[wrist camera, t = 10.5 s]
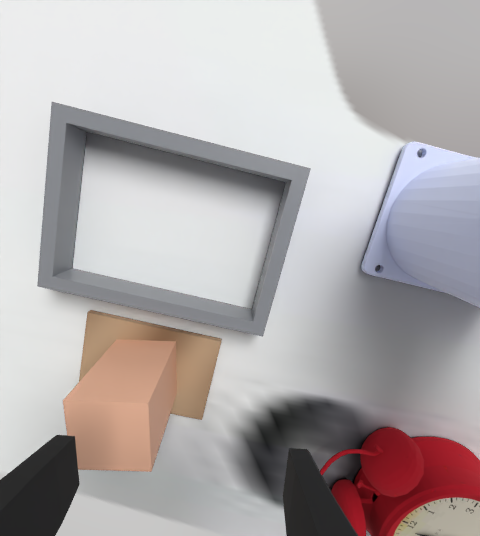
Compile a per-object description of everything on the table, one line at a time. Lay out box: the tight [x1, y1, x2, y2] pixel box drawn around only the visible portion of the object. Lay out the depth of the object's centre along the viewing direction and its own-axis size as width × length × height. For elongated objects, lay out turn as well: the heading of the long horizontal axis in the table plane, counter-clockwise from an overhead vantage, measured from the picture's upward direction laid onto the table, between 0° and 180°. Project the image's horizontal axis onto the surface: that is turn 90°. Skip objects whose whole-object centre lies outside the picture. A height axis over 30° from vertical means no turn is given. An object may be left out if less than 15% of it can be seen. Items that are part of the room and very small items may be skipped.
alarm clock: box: [320, 427, 480, 536], centre depth 21 cm, size 10×6×15 cm
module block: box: [63, 339, 177, 472], centre depth 17 cm, size 4×4×6 cm
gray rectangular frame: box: [37, 102, 311, 336], centre depth 17 cm, size 14×10×2 cm
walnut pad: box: [79, 310, 222, 420], centre depth 20 cm, size 9×6×1 cm
